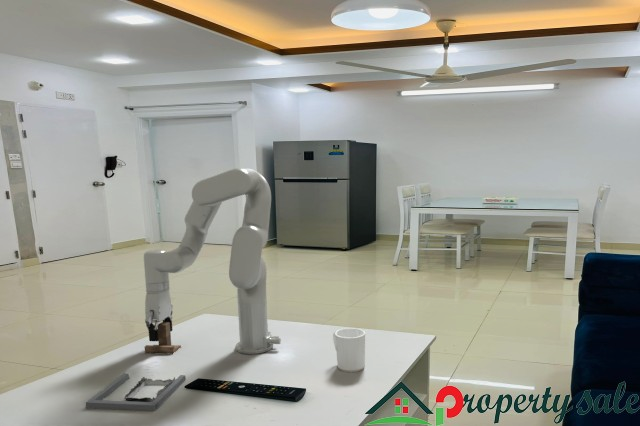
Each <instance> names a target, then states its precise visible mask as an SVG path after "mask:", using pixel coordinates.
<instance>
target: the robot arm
mask: <svg viewBox="0 0 640 426" xmlns="http://www.w3.org/2000/svg"><path fill="white" fill-rule="evenodd" d="M243 195H244V196H245V204H244V207H243V209H244V210H243V218H242V224H241V226H240V227H239V228H238V229H237V230H236V231H235V232H234V235H233V238H232V241H231V242H232V243H231V250H230V258H229V259H230V260H229V268H228V276H229V277H228V278H229V281H230V282H231V284H232V286H234V287H235V288H236V290H237V295H236V297H237V311H238V313H237V315H238V316H237V317H238V330H239V331H238V332H239V333H238V334H239V335H238V336H239V342H238V341H237V343H236V344H235V345H234V346H235V347H234V348H235V351H236V352H238V353H240V354H245V355H256V354H262V353H265V352H268V351H270V350H271V349H273V347H274V345H280V344H281V341H282V339H281V338H280V336H278V335H277V336H273V335H272V333H271V331H269V324H268V308H267V306H268V305H267V304H268V303H267V266H266V262H265V260H264V259H263V258H262V252H263V249H264V248H265V246H266V244H267V243H268V240H269V228H270V227H269V226H270V217H271V215H270V214H271V207H272V206H271V204H272V192H271V187H270V185H269V182H268V181H267V179H266V178H265V177H264V176H263V175H262V174H261V173H260V172H259V171H256V170H255V169H252V168H250V167H237V168H232V169H229V170H227V171H224V172H221V173H219V174H216V175H213V176H211V177H207V178H204V179H201V180H199V181H198V182H196V183H195V184H194V185H193V187H192V190H191V198H192V202H191V205H190V206H189V208H188V210H187V212H186V214H185V217H184V223H185V228H186V229H185V232H184V235H183V237H182V239H181V241H180V243H179V245H178V247H176V248H174V249H172V250H170V251H166V250H165V249H151V250H146V251H145V253H143V264H144V265H143V267H144V279H145V292H146V293H145V302H144V305H145V307H144V311H145V314H144V315H145V319H144V323H145V324H146V325H145V326H146V328H147V330H148V340H149V342H158V341H159V332H158V328H157V327H158V324H160V323H161V322H170V333H171V332H173V320H172V319H173V309H174V305H173V304H172V301H171V295H170V290H171V289H170V276H169V275H170V274H178V273H181V272H183V271H184V270H186V269H187V268H190V267H191V266H192V265H193V264H194V263H195V261H196V260H197V258H198V256H199V254H200V252H201V250H202V248H203V246H204V243H205V241H206V238H207V236H208V232H209V229H210V227H211V226H212V225H211V224H212V222H213V221H214V218H215V217H216V215H217V213H218V211H219V209H220V208H221V205H222V203H223V202H226V201H228V200H229V201H230V200H232V199H235V198H237V197H241V196H243Z"/></svg>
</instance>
